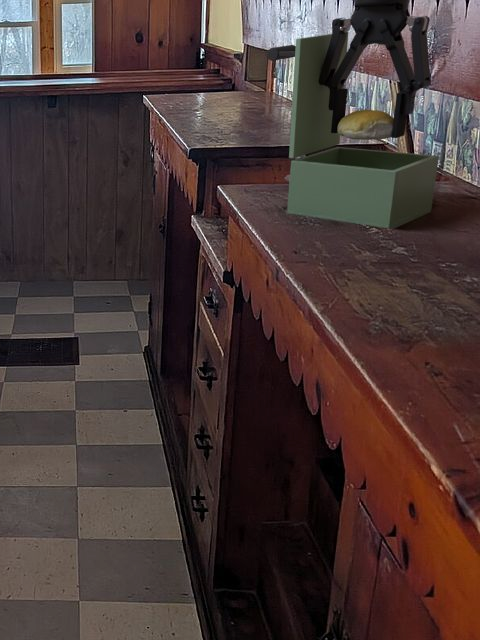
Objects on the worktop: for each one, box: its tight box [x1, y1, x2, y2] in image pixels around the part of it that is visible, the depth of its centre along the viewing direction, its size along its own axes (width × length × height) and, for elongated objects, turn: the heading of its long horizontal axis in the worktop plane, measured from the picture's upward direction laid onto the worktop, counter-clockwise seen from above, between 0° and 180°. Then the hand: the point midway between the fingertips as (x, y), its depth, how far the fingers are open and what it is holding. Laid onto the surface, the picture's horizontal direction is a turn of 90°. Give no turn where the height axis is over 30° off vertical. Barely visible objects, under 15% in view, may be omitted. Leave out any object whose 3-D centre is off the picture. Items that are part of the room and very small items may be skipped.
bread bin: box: [286, 146, 440, 230], centre depth 137 cm, size 17×15×9 cm
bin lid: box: [266, 31, 349, 159], centre depth 141 cm, size 18×15×8 cm
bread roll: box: [337, 109, 394, 141], centre depth 134 cm, size 8×9×4 cm
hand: (366, 134), depth 134 cm, fingers closed on bread roll, 9 cm apart
